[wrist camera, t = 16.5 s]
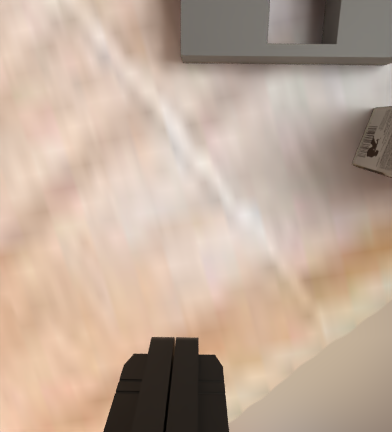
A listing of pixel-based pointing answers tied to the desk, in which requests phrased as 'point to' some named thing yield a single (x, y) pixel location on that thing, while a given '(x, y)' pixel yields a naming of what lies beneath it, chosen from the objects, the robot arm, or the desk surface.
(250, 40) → the plate
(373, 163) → the coffee box
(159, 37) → the desk surface
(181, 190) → the desk surface
